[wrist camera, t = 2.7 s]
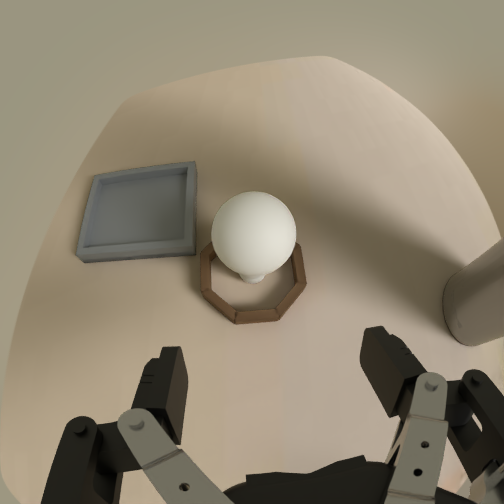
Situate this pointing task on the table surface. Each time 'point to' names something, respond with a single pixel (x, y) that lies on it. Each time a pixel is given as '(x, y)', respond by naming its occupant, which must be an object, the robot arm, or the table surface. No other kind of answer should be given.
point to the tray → (140, 214)
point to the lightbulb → (253, 234)
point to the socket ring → (256, 315)
